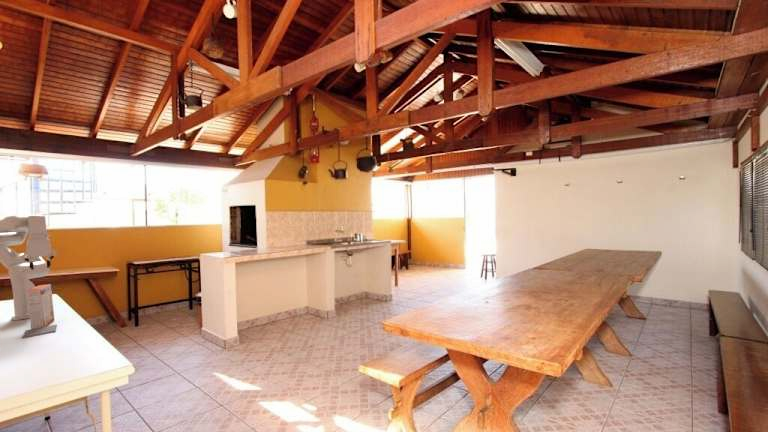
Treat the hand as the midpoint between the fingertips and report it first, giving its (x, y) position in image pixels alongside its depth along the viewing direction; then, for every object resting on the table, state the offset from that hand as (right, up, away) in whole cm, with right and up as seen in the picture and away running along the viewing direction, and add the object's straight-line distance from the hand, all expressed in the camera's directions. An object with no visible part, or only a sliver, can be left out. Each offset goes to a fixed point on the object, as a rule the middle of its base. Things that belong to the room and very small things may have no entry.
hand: (40, 268), depth 208 cm
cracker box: (+10, -30, -9) cm, 32 cm away
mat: (+19, -30, -20) cm, 41 cm away
